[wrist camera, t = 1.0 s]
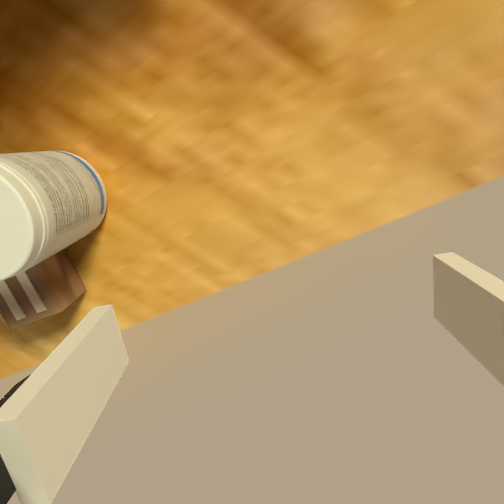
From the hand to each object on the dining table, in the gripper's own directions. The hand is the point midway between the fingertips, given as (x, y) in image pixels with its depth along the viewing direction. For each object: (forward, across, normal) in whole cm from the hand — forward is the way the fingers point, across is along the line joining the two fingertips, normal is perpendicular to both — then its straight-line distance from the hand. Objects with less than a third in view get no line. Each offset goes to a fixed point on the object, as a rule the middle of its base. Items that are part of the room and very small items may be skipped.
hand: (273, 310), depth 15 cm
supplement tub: (+27, -21, +4) cm, 35 cm away
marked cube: (+27, -25, -5) cm, 37 cm away
